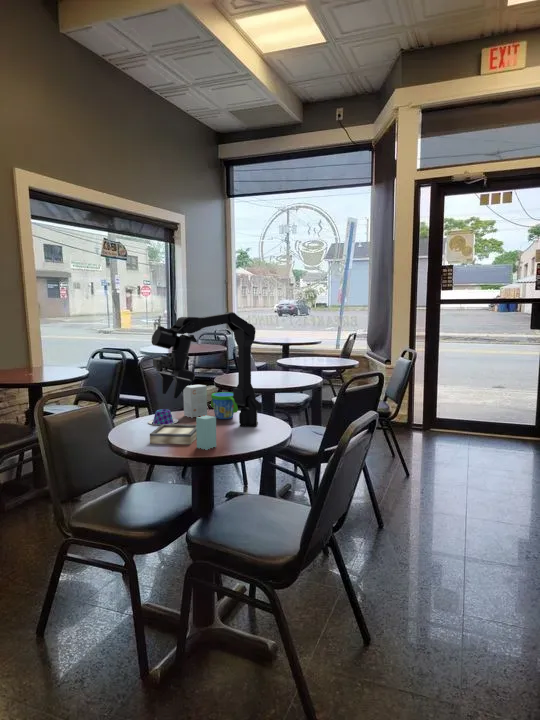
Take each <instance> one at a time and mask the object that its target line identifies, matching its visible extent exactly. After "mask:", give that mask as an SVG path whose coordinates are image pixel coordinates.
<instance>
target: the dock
mask: <svg viewBox="0 0 540 720" xmlns="http://www.w3.org/2000/svg"><path fill="white" fill-rule="evenodd" d="M196 440H197V431H196V424H177V423H173V424H172V423H170V424H162V425H159V426H158V427H157V428H155V429H154V430H153V431H151V433H149V443H150V444H155V445H156V444H159V445H160V444H161V445H192V444H193V443H194V442H195V441H196ZM192 442H193V443H192Z"/></svg>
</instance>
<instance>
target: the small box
mask: <svg viewBox="0 0 540 720" xmlns="http://www.w3.org/2000/svg"><path fill="white" fill-rule="evenodd" d="M207 388H208V387H207V385H205V384H193V385H192V384H191V385H187V386H186V387H185V389H184V390H183V391H182V393H183V396H182V397H183V415H184V416H183V417H185V416H187V417H186V418H189V417H191V418H190V419H194V418H193V417H196V418H197V417H198V416H203V415H208V389H207Z"/></svg>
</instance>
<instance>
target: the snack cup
mask: <svg viewBox="0 0 540 720" xmlns="http://www.w3.org/2000/svg"><path fill="white" fill-rule="evenodd" d="M210 398H211V401H210V406H211V408H213V412H214V413H213V414H214V417H216V419H218V420H219V419H220V420H230V419H232V418H233V417H234V414H235V413H238V411H239V408H238V406H237V404H236V403H235V401H234V398H233V392H231V391H230V392H229V391H222V392H219V391H218V392H213V393H211V395H210Z"/></svg>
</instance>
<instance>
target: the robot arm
mask: <svg viewBox="0 0 540 720" xmlns="http://www.w3.org/2000/svg"><path fill="white" fill-rule="evenodd" d="M220 325H221V326H222V325H227V327H228V328H229V330H230V331H232V333H233V336H234V337H233V338H234V341H235V343H236V345H237V350H238V351H237V352H238V353H237V357H238V361H237V362H238V363H237V364H238V366H237V367H238V369H237V370H238V371H237V372H238V375H237V377H238V383H237V386H236V387H233V389H232V393H233V398H234V401H235V403H236V404H237V406H238V410H239V409H240V412H239V415H238V424H239V426H240V427H255V428H256V427H258V424H259V422H258V411H261V409H262V404H261V403H260V402H259V401H258V400H257V399H256V398H257V397H256V391H255V389H254V387H253V385H252V346H253V344H254V342H255V337H256V333H257V332H256V327H255V326H254V325H253V324H251V323H249V322H248V321H247V320H245V319H243V318H242V317H240V316H239V315H238V314H237V313H235V312H234V311H232V312H231V311H229V312H227V311H226V312H223V313H217V314H210V315H207V316H200V317H199V316H198V317H197V316H180V317H178V318H177V320H176V322H175V323H174V324H173V325H172V326H171V327H170V328H168V327H167V328H166V327H164V326H162V325H158V326H157V328H156V330H154V332H153V334H152V336H151V345H153V346H155V347H159V348H162V349H166V350H170V349H171V352H168V353H167V355H166V356H161V357H154V358H152V367H153V368H154V369H155V368H156V370H155V371H157V374H158V375H159V376H160V378H161V393H162V394H163V395H166V394H167V392H168V391H169V389H170V387H171V385H172V383H173V382H174V383H175V384H174V391H173V399H177V398H178V397H179V396H180V395H181V393H183V390H184V389H185V387H186V386H189V384H190V383H192V381H195V377H196V374H195V372H194V371H191V370H188V368H186V364H187V361H189V360H190V358H191V357H190V356H189V351H190V347H191V344H192V343H197V342H198V340H197V338H196V337H195V335H194V333H196V332H198V331H201V330H202V329H205V328H209V327H215V326H220ZM186 334H189V335H186ZM178 335H179V336H178Z"/></svg>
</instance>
